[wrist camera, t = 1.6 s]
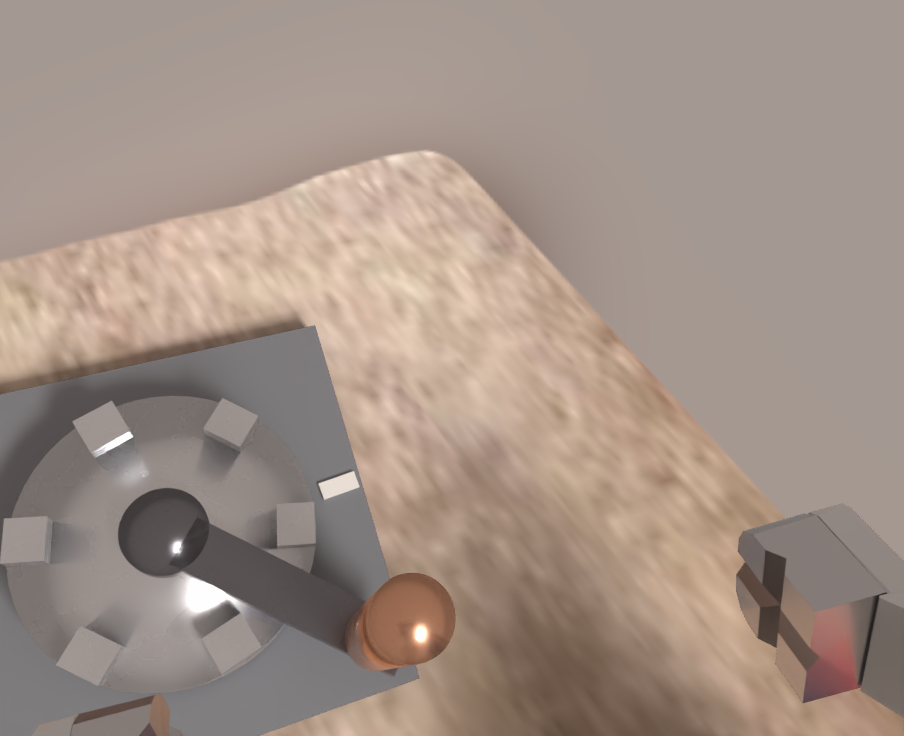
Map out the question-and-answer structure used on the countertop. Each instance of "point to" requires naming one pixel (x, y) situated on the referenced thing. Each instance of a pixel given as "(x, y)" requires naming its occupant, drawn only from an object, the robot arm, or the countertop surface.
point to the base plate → (335, 558)
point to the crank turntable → (190, 554)
